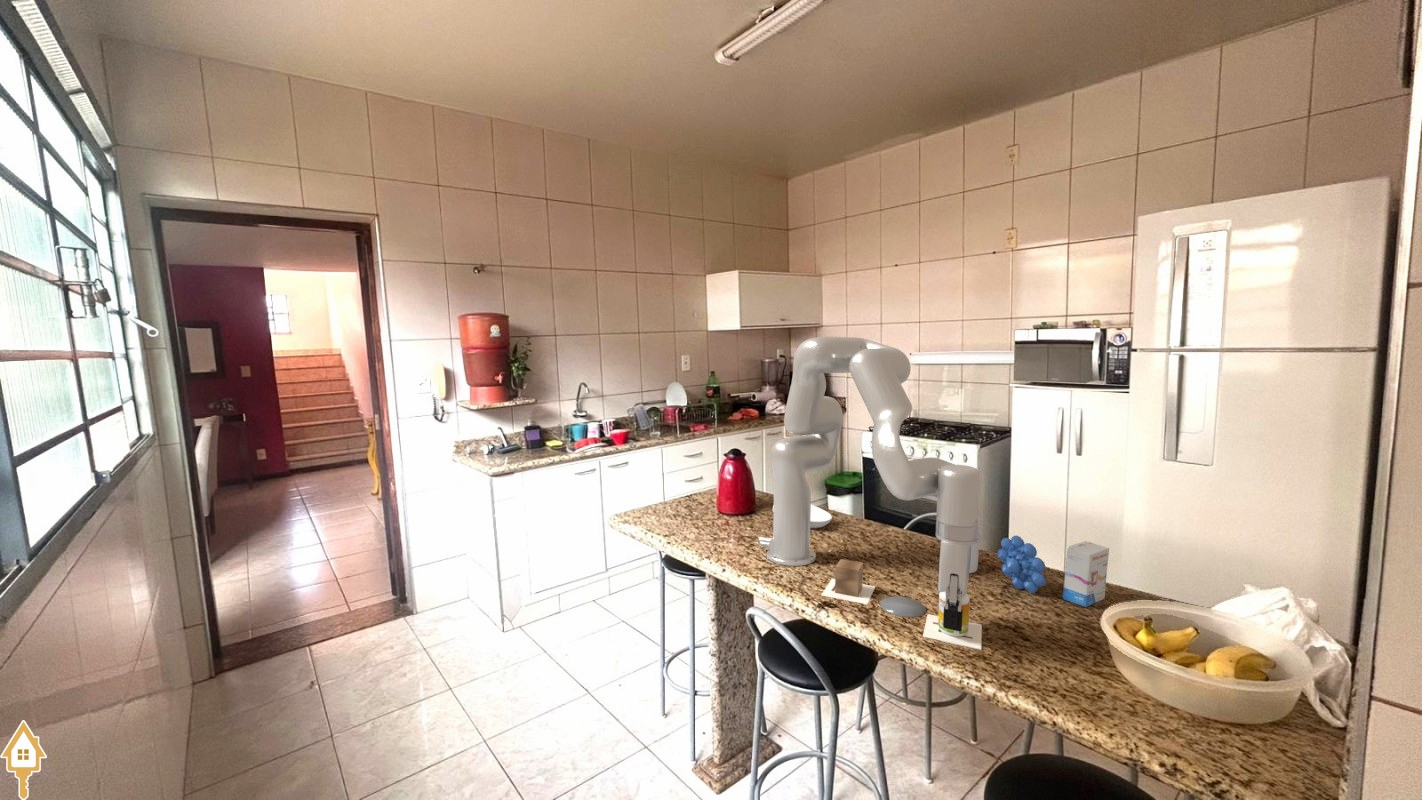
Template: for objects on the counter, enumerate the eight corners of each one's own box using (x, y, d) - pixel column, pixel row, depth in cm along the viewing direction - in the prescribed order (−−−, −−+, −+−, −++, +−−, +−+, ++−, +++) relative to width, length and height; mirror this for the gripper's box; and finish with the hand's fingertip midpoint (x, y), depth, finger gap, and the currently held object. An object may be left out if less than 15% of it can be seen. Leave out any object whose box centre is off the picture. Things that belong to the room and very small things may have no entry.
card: (922, 637, 107) (922, 636, 106) (927, 615, 115) (927, 613, 115) (981, 650, 102) (981, 648, 102) (981, 625, 111) (981, 624, 111)
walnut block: (835, 592, 125) (835, 566, 125) (840, 584, 130) (840, 559, 129) (857, 597, 123) (858, 570, 123) (862, 588, 128) (862, 562, 127)
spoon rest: (839, 528, 171) (840, 505, 171) (810, 534, 165) (810, 511, 165) (790, 509, 192) (791, 488, 191) (762, 514, 186) (762, 493, 185)
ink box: (1086, 608, 119) (1090, 554, 117) (1061, 599, 123) (1065, 546, 122) (1106, 599, 123) (1110, 546, 122) (1081, 590, 127) (1084, 539, 126)
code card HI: (820, 596, 124) (820, 594, 124) (832, 579, 133) (832, 578, 133) (867, 605, 120) (867, 604, 120) (875, 587, 129) (875, 586, 129)
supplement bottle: (964, 625, 111) (966, 577, 110) (971, 638, 106) (973, 588, 105) (935, 622, 112) (937, 575, 111) (940, 635, 107) (942, 586, 106)
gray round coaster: (877, 612, 116) (877, 610, 116) (884, 595, 125) (884, 593, 125) (923, 621, 113) (923, 619, 113) (927, 603, 121) (927, 601, 121)
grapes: (984, 582, 132) (986, 532, 130) (1004, 577, 134) (1006, 528, 133) (1030, 603, 121) (1033, 548, 120) (1051, 597, 124) (1054, 544, 123)
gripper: (939, 516, 116) (935, 600, 118) (932, 541, 101) (928, 638, 103) (979, 520, 113) (975, 607, 115) (978, 548, 98) (973, 647, 99)
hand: (953, 621), depth 109 cm, fingers closed on supplement bottle, 5 cm apart
